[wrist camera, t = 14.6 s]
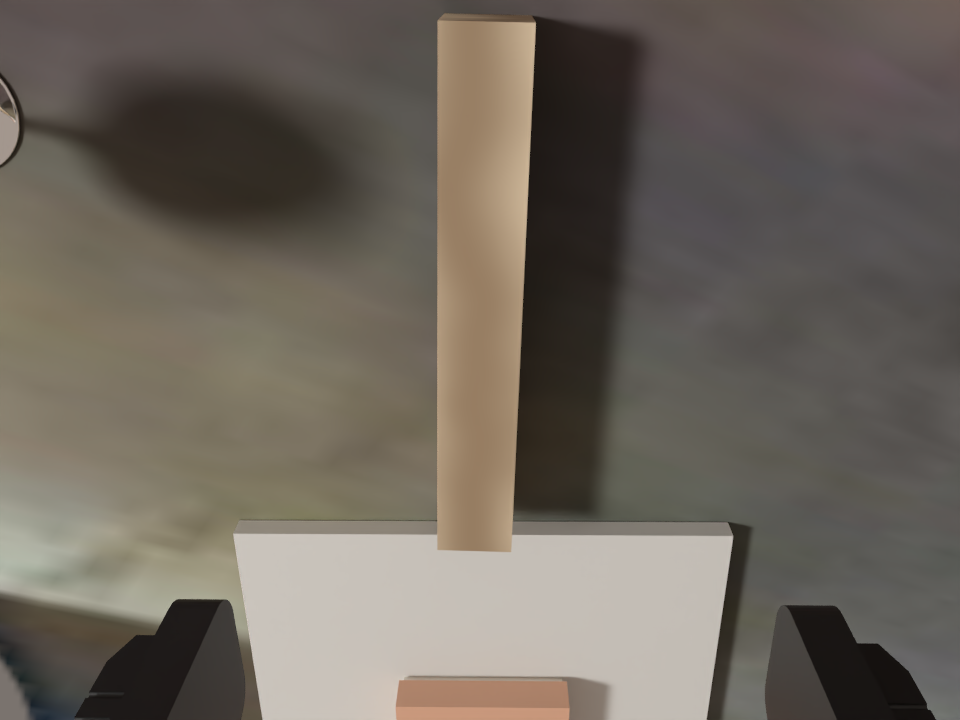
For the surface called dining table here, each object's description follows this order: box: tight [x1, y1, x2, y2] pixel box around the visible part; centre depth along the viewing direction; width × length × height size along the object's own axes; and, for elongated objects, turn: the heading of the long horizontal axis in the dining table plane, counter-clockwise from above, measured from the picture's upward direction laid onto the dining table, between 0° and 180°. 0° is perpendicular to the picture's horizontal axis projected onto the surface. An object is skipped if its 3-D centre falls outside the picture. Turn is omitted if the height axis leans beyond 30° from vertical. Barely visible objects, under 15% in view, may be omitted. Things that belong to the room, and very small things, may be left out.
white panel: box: [233, 520, 733, 720], centre depth 42 cm, size 22×20×1 cm
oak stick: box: [437, 13, 536, 552], centre depth 32 cm, size 3×20×4 cm, turn 179°
